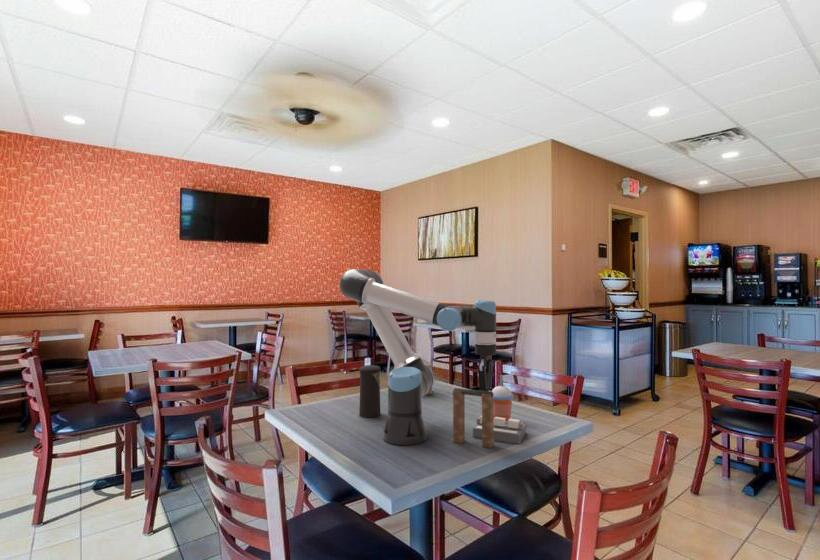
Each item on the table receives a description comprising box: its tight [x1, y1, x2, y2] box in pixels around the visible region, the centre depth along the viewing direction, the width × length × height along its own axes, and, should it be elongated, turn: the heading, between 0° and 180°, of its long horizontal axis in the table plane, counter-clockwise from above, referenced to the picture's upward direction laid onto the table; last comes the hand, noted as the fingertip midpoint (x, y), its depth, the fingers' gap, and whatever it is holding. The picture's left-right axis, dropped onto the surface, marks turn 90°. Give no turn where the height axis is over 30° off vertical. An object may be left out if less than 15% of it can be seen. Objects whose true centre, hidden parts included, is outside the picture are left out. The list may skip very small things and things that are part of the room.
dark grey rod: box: [452, 387, 493, 397], centre depth 145 cm, size 14×2×2 cm, turn 64°
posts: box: [452, 390, 495, 449], centre depth 144 cm, size 13×4×17 cm, turn 64°
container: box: [358, 364, 381, 418], centre depth 177 cm, size 9×9×20 cm
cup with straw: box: [491, 374, 514, 422], centre depth 167 cm, size 9×9×18 cm
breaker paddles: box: [479, 414, 521, 429], centre depth 153 cm, size 14×2×2 cm, turn 64°
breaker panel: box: [472, 416, 527, 445], centre depth 153 cm, size 16×12×5 cm
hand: (485, 409), depth 155 cm, fingers closed
